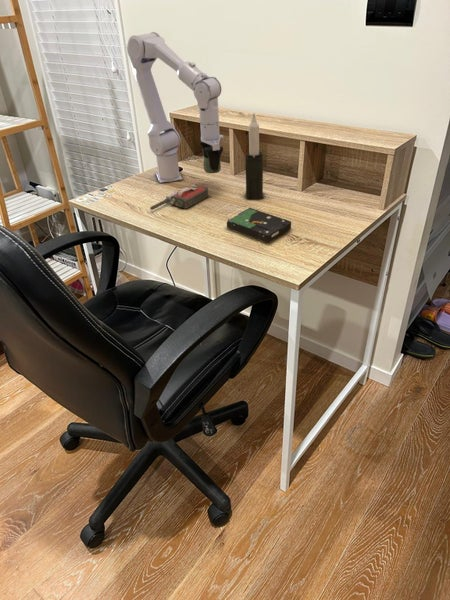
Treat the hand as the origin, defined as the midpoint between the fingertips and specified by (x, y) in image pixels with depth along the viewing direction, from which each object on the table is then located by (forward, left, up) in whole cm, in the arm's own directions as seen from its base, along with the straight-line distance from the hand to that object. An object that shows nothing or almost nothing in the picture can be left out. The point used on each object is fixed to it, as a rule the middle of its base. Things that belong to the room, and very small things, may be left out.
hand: (212, 166), depth 145 cm
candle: (+11, +11, -8) cm, 17 cm away
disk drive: (+33, +5, -8) cm, 34 cm away
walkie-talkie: (+8, -12, -8) cm, 17 cm away
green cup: (0, 0, -1) cm, 1 cm away
